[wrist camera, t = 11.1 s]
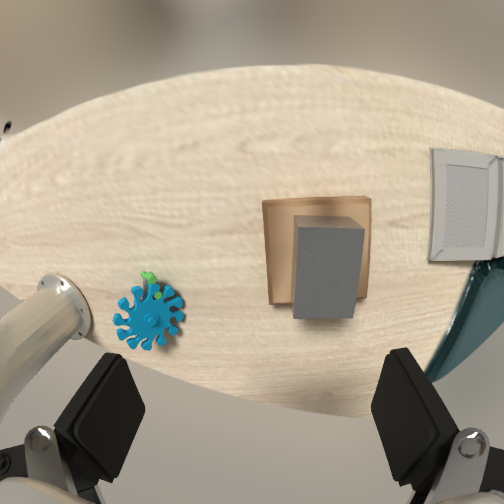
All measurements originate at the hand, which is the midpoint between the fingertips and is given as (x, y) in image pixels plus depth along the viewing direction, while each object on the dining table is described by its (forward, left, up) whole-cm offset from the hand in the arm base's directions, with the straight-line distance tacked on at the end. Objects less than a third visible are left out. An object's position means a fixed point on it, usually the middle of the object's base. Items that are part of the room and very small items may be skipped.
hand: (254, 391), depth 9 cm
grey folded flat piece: (+33, +2, -26) cm, 42 cm away
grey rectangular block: (+5, -3, -22) cm, 23 cm away
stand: (+6, -3, -25) cm, 26 cm away
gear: (-16, -9, -25) cm, 31 cm away
